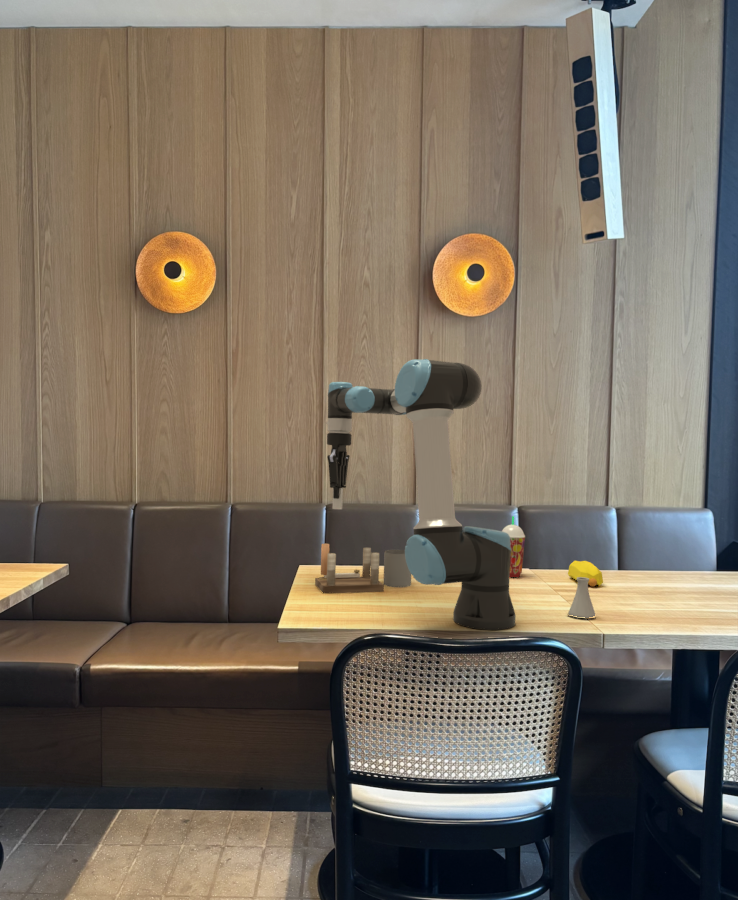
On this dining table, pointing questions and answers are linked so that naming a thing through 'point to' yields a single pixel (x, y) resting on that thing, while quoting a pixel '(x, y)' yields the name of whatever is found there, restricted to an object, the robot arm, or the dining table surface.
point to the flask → (582, 600)
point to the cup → (396, 569)
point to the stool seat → (352, 583)
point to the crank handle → (324, 564)
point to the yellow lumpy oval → (586, 572)
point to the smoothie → (515, 548)
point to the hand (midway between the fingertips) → (337, 508)
